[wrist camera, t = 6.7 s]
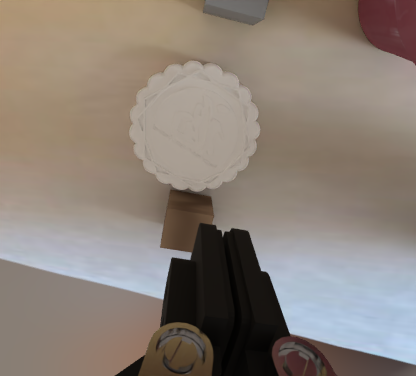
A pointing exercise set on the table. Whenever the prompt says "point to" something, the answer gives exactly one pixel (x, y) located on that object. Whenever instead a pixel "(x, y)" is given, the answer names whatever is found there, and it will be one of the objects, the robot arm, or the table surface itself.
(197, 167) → the mooncake
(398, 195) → the table surface
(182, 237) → the walnut block
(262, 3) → the slate-grey block
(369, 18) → the plant pot
